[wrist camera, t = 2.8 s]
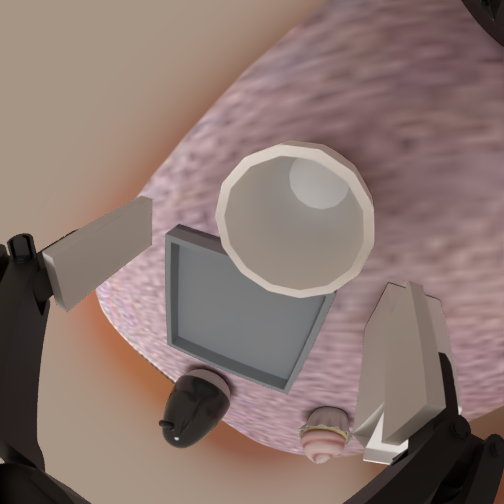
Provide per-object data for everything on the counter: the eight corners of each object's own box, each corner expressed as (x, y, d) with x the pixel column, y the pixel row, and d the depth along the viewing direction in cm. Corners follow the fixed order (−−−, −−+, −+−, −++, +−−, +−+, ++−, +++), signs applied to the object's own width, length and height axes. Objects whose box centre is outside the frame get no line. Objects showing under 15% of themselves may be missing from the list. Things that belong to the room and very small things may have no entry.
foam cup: (270, 213, 31) (216, 278, 20) (275, 125, 26) (214, 139, 15) (360, 230, 28) (356, 310, 17) (375, 139, 24) (390, 162, 13)
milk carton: (412, 341, 32) (413, 481, 16) (364, 327, 33) (343, 472, 17) (440, 299, 28) (466, 450, 12) (387, 281, 29) (388, 441, 14)
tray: (179, 224, 35) (165, 233, 33) (338, 277, 31) (336, 293, 29) (176, 333, 46) (167, 344, 43) (292, 379, 42) (287, 394, 39)
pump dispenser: (228, 363, 45) (184, 438, 32) (244, 400, 49) (210, 467, 37) (178, 356, 49) (132, 418, 37) (198, 391, 53) (161, 450, 41)
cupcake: (336, 395, 41) (324, 448, 32) (365, 420, 42) (357, 469, 33) (293, 408, 46) (276, 455, 37) (323, 431, 47) (311, 475, 38)
